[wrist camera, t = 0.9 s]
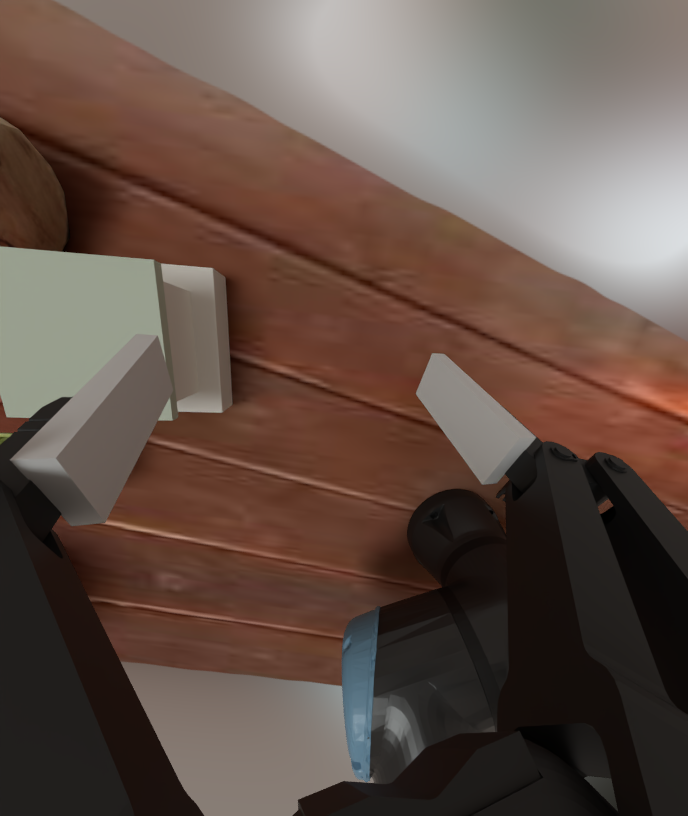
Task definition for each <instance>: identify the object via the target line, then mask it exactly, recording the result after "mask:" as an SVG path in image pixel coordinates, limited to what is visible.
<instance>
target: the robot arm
mask: <svg viewBox="0 0 688 816" xmlns="http://www.w3.org/2000/svg"><path fill="white" fill-rule="evenodd" d="M172 392H173V387H172V383H171V380H170V376H169V373H168V369H167V366H166V362H165V359H164V355H163V352H162V348H161V344H160V341H159V337H158V335H145V334H136V335H135V336H134V337H133V338H132V339H131V340H130V341H129V342H128V343H127V344H126V345H125V346H124V347H123V348H122V349H121V350H120V351H119V352H118V353H117V354H116V355H115V356H114V357H113V358H112V359H111V360H110V361H109V362H108V363H107V364H106V365H105V366H104V367H103V368H102V369H101V370H100V371H99V372H98V373H97V374H95V375H94V376H93V377H92V378H91V379H90V380H89V381H88V382H87V383H86V384H85V385H84V386H83V387H82V388H81V389H80V390H79V391H78V392H77V393H76V394H75V395H74V396H73V397H61V398H59V399H57V400H55V401H53V402H51V403H49V404H47V405H45V406H43V407H42V408H41V409H39V410H38V411H37V412H36V413H35V414H34V415H33V416H32V417H31V418H29V422H25V423H24V424H23V425H22V426H21V427H20V428H18V432H14V433H13V434H12V435H11V436H10V437H9V438H7V439H6V440H5V441H4V442H3V443H2V444H1V445H0V816H204V815H203V813H202V812H201V810H200V809H199V807H198V806H197V804H196V803H195V802H194V801H193V800H192V799H191V798H190V797H189V796H188V795H187V793H186V792H185V790H184V789H183V787H182V785H181V783H180V781H179V780H178V777H177V775H176V773H175V771H174V769H173V767H172V765H171V763H170V761H169V759H168V757H167V755H166V753H165V751H164V749H163V747H162V746H161V743H160V741H159V739H158V737H157V735H156V733H155V731H154V729H153V727H152V725H151V723H150V721H149V719H148V717H147V715H146V713H145V711H144V709H143V707H142V705H141V703H140V701H139V699H138V697H137V695H136V692H135V690H134V688H133V686H132V684H131V683H130V681H129V678H128V676H127V674H126V672H125V670H124V668H123V666H122V664H121V662H120V660H119V658H118V656H117V654H116V652H115V650H114V648H113V646H112V644H111V642H110V640H109V638H108V636H107V634H106V632H105V630H104V628H103V626H102V624H101V622H100V620H99V618H98V616H97V614H96V612H95V610H94V608H93V606H92V604H91V602H90V600H89V598H88V595H87V593H86V591H85V589H84V587H83V585H82V583H81V581H80V579H79V577H78V575H77V573H76V571H75V569H74V567H73V565H72V563H71V561H70V559H69V557H68V555H67V553H66V551H65V549H64V547H63V545H62V543H61V541H60V539H59V537H58V535H57V534H56V533H55V532H54V531H53V530H52V527H53V526H54V524H55V523H56V521H57V520H58V518H59V517H60V515H62V517H63V518H64V519H65V520H66V521H67V522H68V523H69V524H70V525H71V526H77V525H87V524H97V523H105V522H106V520H107V518H108V516H109V514H110V512H111V510H112V508H113V506H114V504H115V503H116V501H117V499H118V497H119V495H120V493H121V491H122V489H123V487H124V485H125V483H126V481H127V479H128V477H129V475H130V473H131V471H132V470H133V468H134V466H135V464H136V462H137V460H138V458H139V456H140V454H141V452H142V450H143V448H144V446H145V444H146V442H147V440H148V438H149V437H150V435H151V433H152V431H153V429H154V427H155V425H156V423H157V421H158V419H159V417H160V415H161V413H162V411H163V409H164V407H165V405H166V404H167V402H168V400H169V398H170V396H171V394H172ZM416 395H417V396H418V398H419V399H420V400H421V402H422V403H423V404H424V406H425V407H426V409H427V410H428V411H429V413H430V414H431V415H432V417H433V418H434V419H435V421H436V422H437V424H438V425H439V426H440V428H441V429H442V430H443V432H444V433H445V434H446V436H447V437H448V439H449V440H450V441H451V443H452V444H453V445H454V447H455V448H456V449H457V451H458V452H459V454H460V455H461V456H462V458H463V459H464V460H465V462H466V463H467V465H468V466H469V467H470V469H471V470H472V471H473V473H474V474H475V475H476V477H477V478H478V480H479V481H480V482H481V484H482V485H485V484H495V483H497V482H498V481H499V480H500V479H501V478H502V477H503V476H504V474H506V476H507V477H508V478H509V479H510V480H509V481H508V482H507V483H506V484H505V485H504V487H503V488H502V489H501V490H500V491H499V492H498V493H497V495H496V497H497V498H499V497H500V496H501V495H502V494H506V496H505V498H504V499H503V501H505V502H506V534H505V532H504V530H503V528H502V526H501V524H500V522H499V520H498V518H497V516H496V514H495V512H494V511H493V509H492V508H491V507H490V506H489V505H488V504H487V503H486V502H485V501H484V500H483V499H482V498H481V497H480V496H478V495H477V494H475V493H473V492H470V491H467V490H460V489H455V490H447V491H443V492H440V493H438V494H436V495H434V496H432V497H430V498H428V499H427V500H426V501H424V502H423V503H422V504H421V505H420V506H419V507H418V508H417V509H416V511H415V512H414V514H413V515H412V517H411V519H410V522H409V525H408V530H407V538H408V542H409V545H410V547H411V549H412V552H413V554H414V556H415V558H416V559H417V560H418V562H419V563H420V564H421V565H422V566H423V567H424V568H426V569H427V571H428V572H429V573H430V574H431V575H432V576H433V577H434V578H435V579H436V580H437V581H438V582H439V583H440V584H441V586H442V588H439V589H435V590H432V591H429V592H426V593H423V594H420V595H417V596H413V597H410V598H407V599H404V600H401V601H398V602H395V603H392V604H389V605H386V606H383V607H380V606H377V607H376V608H375V610H372V611H370V612H367V613H364V614H362V615H359V616H357V617H355V618H353V619H352V620H351V621H350V622H349V623H348V625H347V627H346V630H345V633H344V638H343V646H342V688H343V689H342V690H343V707H344V718H345V728H346V737H347V744H348V750H349V755H350V758H351V762H352V769H353V772H354V774H355V776H356V777H357V778H358V779H360V780H361V779H362V780H364V781H365V782H368V781H370V778H371V777H372V778H373V780H374V783H362V782H346V781H343V782H340V783H338V784H335V785H333V786H331V787H328V788H326V789H323V790H321V791H319V792H316V793H314V794H311V795H309V796H306V797H304V798H301V799H299V800H298V811H297V812H296V813H295V814H294V815H293V816H688V531H687V530H686V529H685V528H684V527H683V526H682V525H681V523H680V522H679V521H678V520H677V519H676V518H675V517H674V516H673V514H672V513H671V512H670V511H669V510H668V509H667V508H666V506H665V505H664V504H663V503H662V502H661V501H660V500H659V499H658V497H657V496H656V495H655V494H654V493H653V492H652V491H651V489H650V488H649V487H648V486H647V485H646V484H645V483H644V482H643V480H642V479H641V478H640V477H639V476H638V475H637V474H636V472H635V471H634V470H633V469H632V468H631V467H630V466H628V465H627V464H626V463H624V462H623V460H621V459H619V458H617V457H615V456H613V455H609V454H606V453H602V452H598V453H595V454H594V455H593V456H592V457H591V458H590V459H588V460H584V459H579V458H578V457H577V456H576V455H575V454H574V453H573V452H572V451H570V450H569V449H567V448H566V447H564V446H562V445H560V444H557V443H554V442H547V441H546V442H544V443H543V442H542V441H540V440H539V439H538V438H537V437H536V436H535V435H534V434H533V433H532V432H531V431H529V430H528V429H527V428H526V427H525V426H524V425H523V424H522V423H521V422H519V421H518V420H517V419H516V418H515V417H514V416H513V415H511V413H510V412H508V411H507V410H506V409H505V408H504V407H503V406H501V405H500V404H499V403H498V402H497V401H495V400H494V399H493V398H492V397H491V396H490V395H489V394H488V393H487V392H486V391H484V390H483V389H482V388H481V387H480V386H479V385H478V384H477V383H476V382H475V381H473V380H472V379H471V378H470V377H469V376H468V375H467V374H466V373H465V372H464V371H462V370H461V369H460V368H459V367H458V366H457V365H456V364H455V363H454V362H453V361H451V360H450V359H449V358H448V357H447V356H446V355H445V354H437V353H432V355H431V358H430V360H429V363H428V365H427V368H426V370H425V372H424V375H423V377H422V380H421V382H420V385H419V387H418V390H417V392H416ZM607 499H609V500H610V501H611V503H612V504H613V507H611V508H610V509H608V510H607V511H605V512H604V513H602V514H600V513H599V510H598V506H599V505H600V504H602V503H603V502H605V501H606V500H607ZM587 776H594V777H604V778H611V779H612V783H613V788H614V793H615V798H616V802H617V808H618V811H617V810H615V808H614V807H613V806H612V805H611V804H610V803H608V802H607V801H606V799H604V798H603V797H602V796H601V795H600V794H599V793H598V792H597V791H596V790H595V789H594V788H593V787H592V786H591V785H590V784H589V783H588V782H587V781H586V780H585V779H584V778H585V777H587Z"/></svg>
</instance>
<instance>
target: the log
mask: <svg viewBox="0 0 688 816" xmlns="http://www.w3.org/2000/svg"><path fill="white" fill-rule="evenodd" d="M69 238H70V233H69V225H68V217H67V210H66V202H65V194H64V191H63V189H62V187H61V185H60V183H59V181H58V179H57V177H56V175H55V173H54V171H53V169H52V168H51V166H50V165H49V163H48V162H47V161H46V160H45V159H44V158H43V156H42V155H41V154H40V153H39V152H38V151H37V149H36V148H35V147H34V146H33V145H32V144H31V142H30V141H29V140H28V139H27V138H26V137H25V135H24V134H23V133H22V132H21V131H20V130H19V129H18V128H16V127H14V126H13V125H11V124H10V123H8V122H7V121H5V120H4V119H2V118H1V117H0V246H1V247H12V248H24V249H35V250H47V251H58V252H62V251H63V249H64V247H65V245H66V244H67V242H68V240H69Z"/></svg>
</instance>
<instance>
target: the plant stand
mask: <svg viewBox="0 0 688 816" xmlns="http://www.w3.org/2000/svg"><path fill="white" fill-rule="evenodd" d="M136 334H145V335H158V337H159V341H160V344H161V348H162V352H163V355H164V359H165V362H166V366H167V369H168V373H169V376H170V380H171V383H172V387H173V392H172V394H171V396H170V398H169V400H168V402H167V404H166V405H165V407H164V409H163V411H162V413H161V415H160V417H159V419H158V420H174V419H176V418H178V412H218V413H222V412H224V411H225V410H226V409H228V408H229V407H230V406H231V405H233V403H232V385H231V367H230V349H229V331H228V314H227V296H226V278H225V276H223V275H222V274H220V273H219V272H217V271H216V270H215V269H213V268H205V267H193V266H181V265H170V264H161V263H159V262H157V261H155V260H150V259H138V258H127V257H115V256H104V255H92V254H81V253H70V252H58V251H47V250H35V249H24V248H12V247H1V246H0V395H1V399H2V402H3V405H4V409H5V412H6V416H7V417H21V418H31V417H32V416H33V415H34V414H35V413H36V412H37V411H38V410H39V409H41V408H42V407H43V406H45V405H47V404H49V403H51V402H53V401H55V400H57V399H59V398H61V397H73V396H74V395H75V394H76V393H77V392H78V391H79V390H80V389H81V388H82V387H83V386H84V385H85V384H86V383H87V382H88V381H89V380H90V379H91V378H92V377H93V376H94V375H95V374H97V373H98V372H99V371H100V370H101V369H102V368H103V367H104V366H105V365H106V364H107V363H108V362H109V361H110V360H111V359H112V358H113V357H114V356H115V355H116V354H117V353H118V352H119V351H120V350H121V349H122V348H123V347H124V346H125V345H126V344H127V343H128V342H129V341H130V340H131V339H132V338H133V337H134V336H135V335H136Z"/></svg>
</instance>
